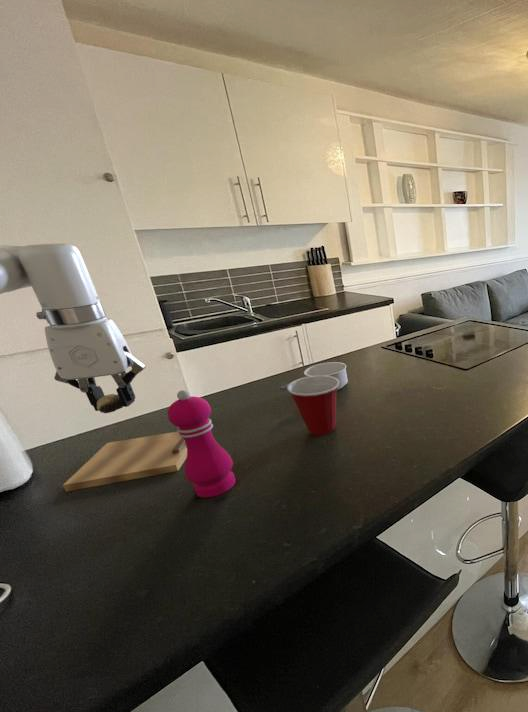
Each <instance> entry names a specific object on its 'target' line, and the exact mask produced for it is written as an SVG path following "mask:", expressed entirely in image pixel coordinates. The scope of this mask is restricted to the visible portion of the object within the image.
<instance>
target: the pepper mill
mask: <svg viewBox="0 0 528 712" xmlns="http://www.w3.org/2000/svg"><path fill="white" fill-rule="evenodd" d="M176 397H177V400H175V401H174V402H173V403H171V404H170V406H169V407H168V408H167V418H168V421H169V422H170V423H171V424H172V425H173V426H175V427H176V432H179V436H180V437H183V439H184V440H185V443H186V446H187V458H186V460H185V461H184V474H185V478H186V480H187V481H188V482H190V483H192V484H193V489H194V492H195V494H196V496H197V497H200V498H204V499H205V498H207V499H208V498H214V497H217V496H220V495H222V494H224V493H226V492H228V491H229V490H231V489H232V488H233V487H234V486H235V484H236V477H235V473H234V472H233V470H232V468H233V465H234V461H233V459H232V456H231V455H230V454H229V452H228V451H227V450H226V449H225V448H224V447H222V446H221V444H219V443H218V442H217V440H216V439H215V437H214V434H213V432H212V429H213V428H214V424H213V423H212V419H211V418H210V416H211V413H212V408H211V405H210V404H209V402H208V401H207V400H206V399H205V398H202V397H200V396H191V393H190V391H188V390H186V389H181V390H179V391H177V393H176Z"/></svg>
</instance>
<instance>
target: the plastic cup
mask: <svg viewBox="0 0 528 712" xmlns="http://www.w3.org/2000/svg"><path fill="white" fill-rule="evenodd" d="M339 382H340V381H339V380H338V379H337V378H334V377H331V376H323V375H322V376H309V377H306V376H305V377H301V378H298V379H294V380H293V381H291V382H290V383H288V384H289V385H288V387H287V391H288V392H289V394H290V395H291V396H292V398H293V401H294V402H295V404H296V407H297V409H298V411H299V414H300V416H301V418H302V421H303V422H304V424H305V426H306V428H307V431H308V432H309V433H310V435H312V436H316V435H317V436H318V437H319V436H325V435H328V434H330V433H332V432H333V431H334V430H335V429H336V426H337V417H336V415H337V393H338V390H337V387H338V386H339ZM327 433H328V434H327ZM324 434H325V435H324Z"/></svg>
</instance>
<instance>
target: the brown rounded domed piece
mask: <svg viewBox="0 0 528 712" xmlns="http://www.w3.org/2000/svg"><path fill="white" fill-rule="evenodd" d="M122 408H124V406H123V405H122V403H121V400H120V398H119V396H118V394H115V393H109V394H106V395H105V396H103V397H101V398H100V399H98V401H97V409H98V410H99V411H98V412H100V413H101V414H109V413H110V414H111V413H113V412H116V411H118V410H120V409H122Z"/></svg>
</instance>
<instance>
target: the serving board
mask: <svg viewBox="0 0 528 712" xmlns="http://www.w3.org/2000/svg"><path fill="white" fill-rule="evenodd" d="M186 458H187V446H186V443H185V440H184V439H183V437H180V436H179V432H178V431H172V432H166V433H160V434H154V435H147V436H142V437H141V436H140V437H136V438H135V437H133V438H129V439H123V440H118V441H117V440H116V441H110V442H106V444H104V445H103V446H102V447H101V448H100V449H99V450H98V451H96V453H94V455H93V456H92V457H90V459H89V460H88V461H86V462H85V463H84V464H83V465H82V466H81V467H80V468H79V469H78V470H77V471H76V472H75V473H74V474H73V475H72V476H71V477H70V478H69V479H67V480H66V482H64V483H63V484H62V487H63V489H64V490H65V493H66V492H71V491H76V490H82V489H88V488H94V487H99V486H103V485H109V484H115V483H120V482H126V481H131V480H136V479H142V478H147V477H152V476H158V475H164V474H168V473H170V474H171V473H175V472H178V471H180V469H181V467H182V466H183V464H185V462H186Z"/></svg>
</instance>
